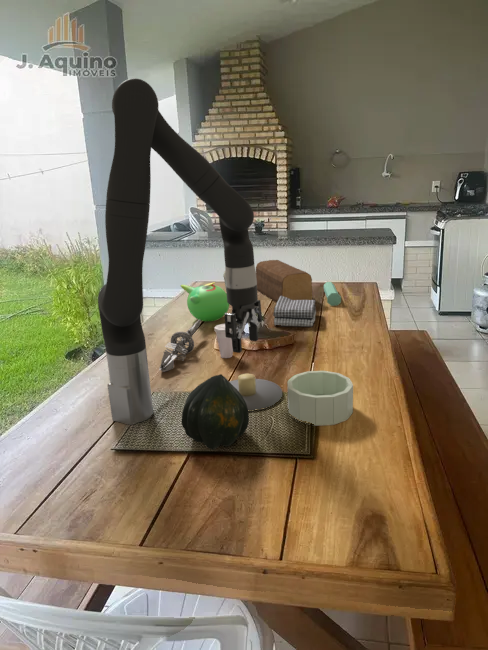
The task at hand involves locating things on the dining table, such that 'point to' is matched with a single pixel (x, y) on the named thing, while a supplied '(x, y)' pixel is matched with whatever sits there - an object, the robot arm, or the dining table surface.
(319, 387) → the bowl
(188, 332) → the spaceship
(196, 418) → the squash
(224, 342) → the smoothie
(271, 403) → the lid
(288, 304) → the towel
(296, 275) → the bread
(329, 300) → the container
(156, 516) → the dining table surface
